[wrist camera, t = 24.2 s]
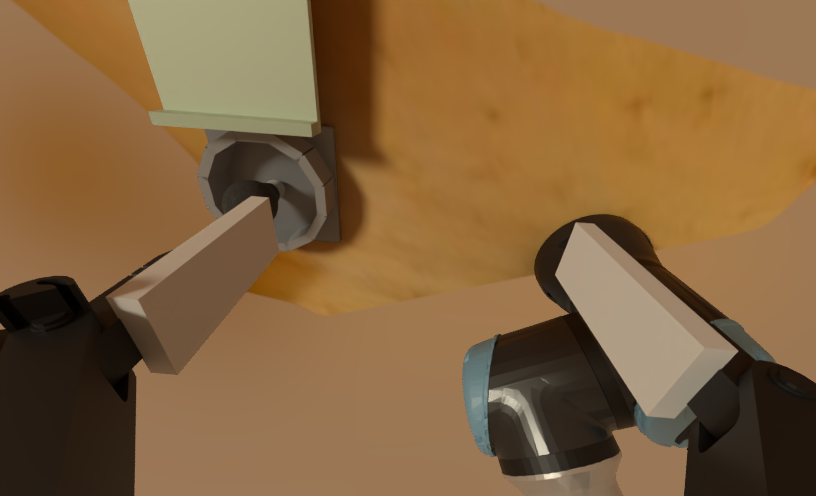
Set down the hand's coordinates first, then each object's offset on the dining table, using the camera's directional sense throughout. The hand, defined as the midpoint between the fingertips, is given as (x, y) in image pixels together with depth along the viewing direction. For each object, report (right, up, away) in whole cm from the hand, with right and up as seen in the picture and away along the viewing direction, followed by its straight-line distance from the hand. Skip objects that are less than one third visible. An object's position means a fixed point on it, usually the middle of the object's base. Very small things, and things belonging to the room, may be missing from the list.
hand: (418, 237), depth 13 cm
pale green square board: (-17, +20, +15) cm, 30 cm away
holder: (-18, +8, +27) cm, 34 cm away
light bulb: (-18, +8, +27) cm, 33 cm away
